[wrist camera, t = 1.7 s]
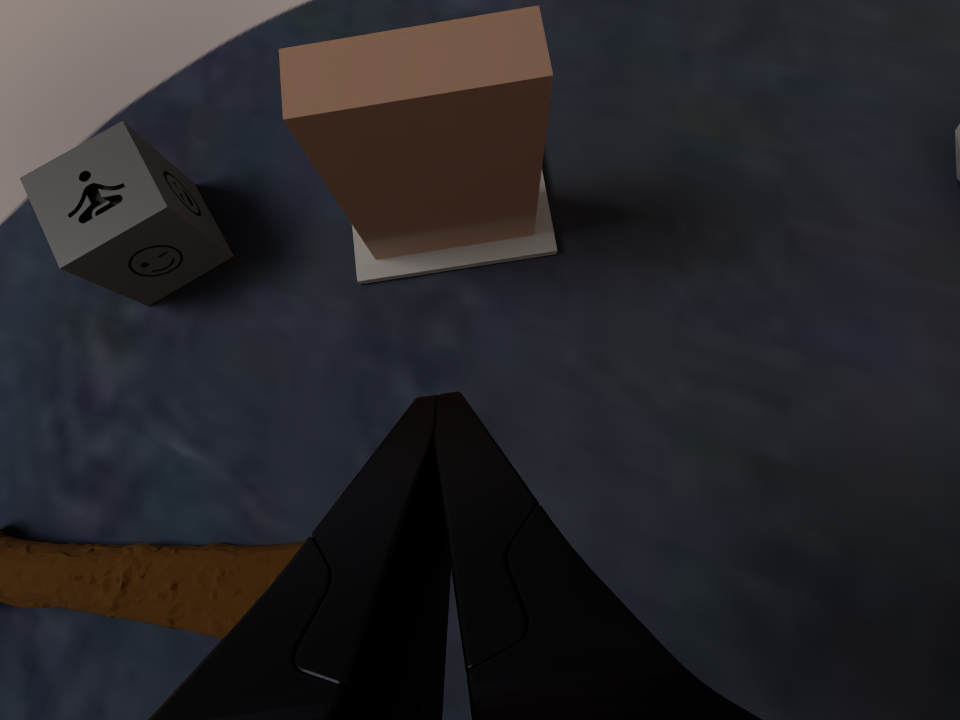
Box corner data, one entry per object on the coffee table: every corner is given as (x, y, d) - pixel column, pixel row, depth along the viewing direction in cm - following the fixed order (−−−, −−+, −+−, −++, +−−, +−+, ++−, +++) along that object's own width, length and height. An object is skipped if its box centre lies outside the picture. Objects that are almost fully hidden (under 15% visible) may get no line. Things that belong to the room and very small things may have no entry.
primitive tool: (389, 537, 22) (367, 553, 18) (379, 670, 21) (353, 713, 17) (1, 515, 23) (-88, 526, 20) (-27, 638, 22) (-127, 672, 19)
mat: (556, 254, 24) (557, 250, 23) (359, 284, 24) (357, 281, 24) (516, 39, 26) (516, 33, 26) (340, 68, 27) (337, 63, 26)
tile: (534, 235, 24) (553, 75, 14) (375, 259, 24) (283, 119, 14) (525, 186, 24) (537, -1, 14) (370, 211, 24) (278, 43, 15)
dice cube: (149, 306, 24) (60, 268, 20) (113, 232, 25) (20, 177, 21) (234, 256, 25) (167, 206, 20) (195, 185, 26) (122, 120, 21)
